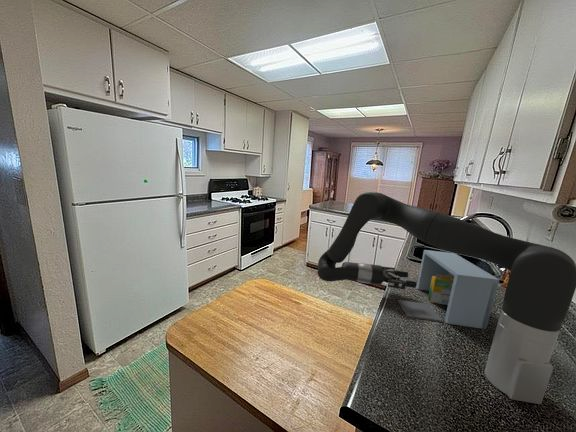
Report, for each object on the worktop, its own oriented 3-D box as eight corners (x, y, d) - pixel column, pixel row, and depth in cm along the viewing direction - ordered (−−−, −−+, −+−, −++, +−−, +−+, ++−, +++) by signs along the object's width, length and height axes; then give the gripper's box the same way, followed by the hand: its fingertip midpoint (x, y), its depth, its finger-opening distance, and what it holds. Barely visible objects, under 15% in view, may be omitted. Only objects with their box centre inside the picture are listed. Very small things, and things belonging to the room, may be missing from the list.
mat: (442, 321, 79) (442, 320, 79) (407, 316, 80) (407, 315, 80) (428, 305, 88) (428, 304, 88) (397, 301, 90) (398, 299, 90)
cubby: (486, 329, 77) (499, 279, 73) (446, 323, 78) (458, 274, 75) (446, 291, 101) (454, 253, 98) (416, 287, 102) (424, 249, 99)
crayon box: (447, 301, 93) (453, 273, 90) (451, 305, 90) (457, 277, 88) (427, 298, 94) (432, 271, 92) (430, 302, 91) (436, 274, 89)
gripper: (374, 272, 86) (421, 278, 84) (366, 258, 100) (406, 263, 98) (370, 291, 87) (417, 297, 85) (363, 274, 101) (403, 280, 99)
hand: (411, 279), depth 92 cm, fingers open, 8 cm apart
